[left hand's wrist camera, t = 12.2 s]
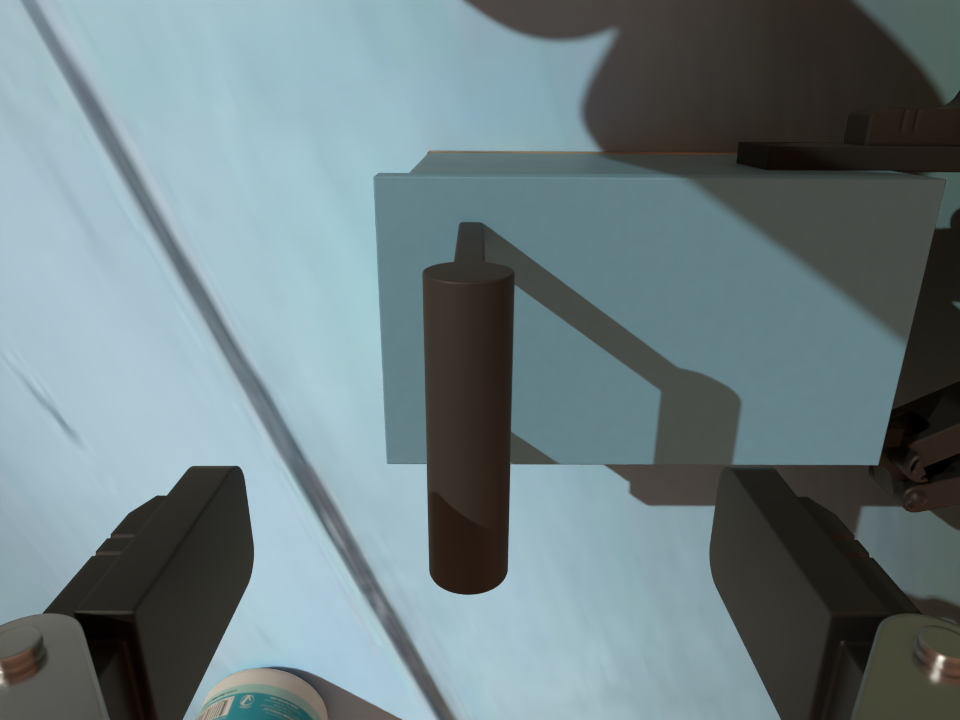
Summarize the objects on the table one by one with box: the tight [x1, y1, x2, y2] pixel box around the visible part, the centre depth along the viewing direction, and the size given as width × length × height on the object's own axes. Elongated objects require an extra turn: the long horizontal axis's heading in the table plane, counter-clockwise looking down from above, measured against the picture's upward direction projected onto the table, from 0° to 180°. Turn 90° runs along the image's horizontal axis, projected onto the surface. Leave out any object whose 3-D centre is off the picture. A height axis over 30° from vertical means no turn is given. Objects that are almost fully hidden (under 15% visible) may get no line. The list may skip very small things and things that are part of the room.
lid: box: [374, 173, 946, 595], centre depth 18 cm, size 16×9×9 cm, turn 90°
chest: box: [410, 151, 920, 176], centre depth 27 cm, size 15×9×10 cm, turn 90°
